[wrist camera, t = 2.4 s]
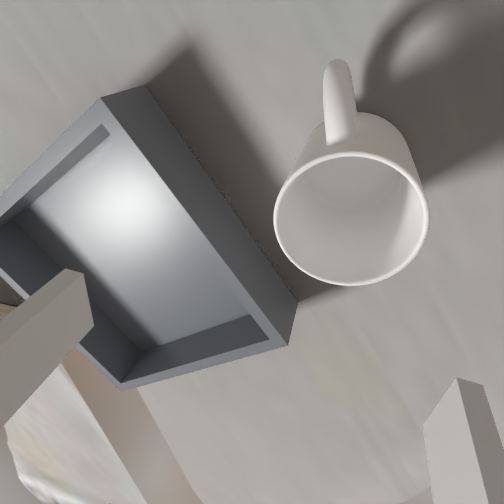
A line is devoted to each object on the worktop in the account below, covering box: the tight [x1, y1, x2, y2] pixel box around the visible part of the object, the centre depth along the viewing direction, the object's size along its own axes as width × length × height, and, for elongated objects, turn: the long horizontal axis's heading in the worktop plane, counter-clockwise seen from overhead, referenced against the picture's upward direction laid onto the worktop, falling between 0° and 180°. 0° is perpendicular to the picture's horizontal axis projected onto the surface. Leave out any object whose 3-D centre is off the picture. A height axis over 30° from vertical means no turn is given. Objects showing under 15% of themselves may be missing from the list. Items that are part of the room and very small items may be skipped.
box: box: [0, 85, 298, 391], centre depth 36 cm, size 24×24×6 cm
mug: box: [274, 59, 430, 286], centre depth 23 cm, size 12×8×10 cm
